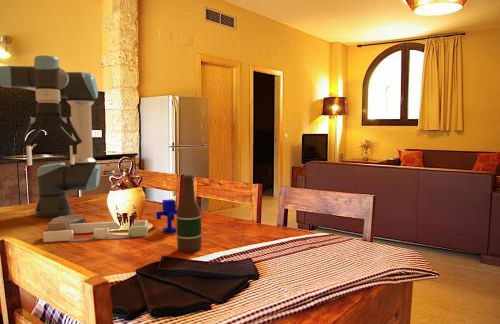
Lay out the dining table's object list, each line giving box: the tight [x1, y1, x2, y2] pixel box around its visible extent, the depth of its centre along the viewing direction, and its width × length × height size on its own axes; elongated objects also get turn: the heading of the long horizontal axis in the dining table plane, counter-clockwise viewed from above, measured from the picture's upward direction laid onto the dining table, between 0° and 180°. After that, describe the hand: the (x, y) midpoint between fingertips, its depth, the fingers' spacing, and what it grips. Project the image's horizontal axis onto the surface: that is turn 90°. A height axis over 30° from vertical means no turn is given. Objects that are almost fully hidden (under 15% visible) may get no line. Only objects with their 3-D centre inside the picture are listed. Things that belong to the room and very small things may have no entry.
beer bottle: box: [176, 174, 202, 254], centre depth 129 cm, size 8×8×24 cm
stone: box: [50, 214, 87, 224], centre depth 159 cm, size 12×9×5 cm
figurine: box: [155, 198, 177, 234], centre depth 152 cm, size 8×8×12 cm
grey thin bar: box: [69, 235, 131, 243], centre depth 142 cm, size 2×20×1 cm, turn 102°
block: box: [47, 219, 70, 231], centre depth 145 cm, size 6×6×6 cm
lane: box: [42, 219, 149, 243], centre depth 148 cm, size 11×35×4 cm, turn 102°
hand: (51, 164), depth 138 cm, fingers open, 13 cm apart
